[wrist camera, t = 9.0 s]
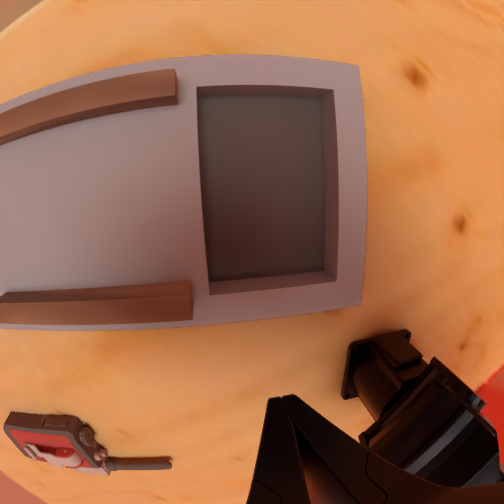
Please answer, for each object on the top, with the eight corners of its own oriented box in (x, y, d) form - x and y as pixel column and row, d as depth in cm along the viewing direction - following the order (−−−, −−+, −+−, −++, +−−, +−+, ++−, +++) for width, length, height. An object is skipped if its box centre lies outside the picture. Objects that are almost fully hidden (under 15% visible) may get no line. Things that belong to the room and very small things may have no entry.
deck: (345, 291, 21) (360, 305, 19) (-39, 313, 16) (-52, 323, 14) (342, 75, 17) (358, 65, 15) (-63, 150, 12) (-79, 151, 10)
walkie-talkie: (40, 454, 23) (175, 460, 24) (31, 477, 18) (175, 492, 20) (2, 407, 20) (143, 409, 22) (-12, 430, 16) (137, 445, 18)
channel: (193, 304, 17) (192, 319, 15) (12, 311, 15) (-2, 323, 13) (178, 80, 14) (174, 68, 12) (-13, 129, 12) (-30, 128, 10)
